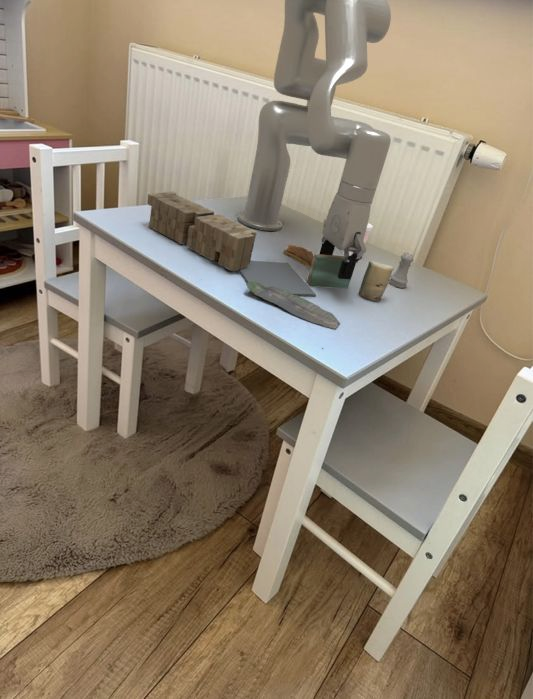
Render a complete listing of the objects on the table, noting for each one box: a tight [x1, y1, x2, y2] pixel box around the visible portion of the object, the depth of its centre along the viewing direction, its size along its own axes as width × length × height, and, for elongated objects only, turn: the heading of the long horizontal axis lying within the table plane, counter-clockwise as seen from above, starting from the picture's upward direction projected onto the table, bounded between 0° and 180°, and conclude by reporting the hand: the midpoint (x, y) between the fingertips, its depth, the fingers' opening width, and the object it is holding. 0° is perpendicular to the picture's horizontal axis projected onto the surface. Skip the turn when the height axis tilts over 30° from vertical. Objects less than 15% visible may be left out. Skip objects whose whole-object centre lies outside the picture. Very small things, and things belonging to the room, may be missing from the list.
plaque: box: [305, 253, 352, 289], centre depth 115 cm, size 2×10×7 cm, turn 111°
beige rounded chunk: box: [358, 260, 394, 302], centre depth 115 cm, size 6×5×8 cm
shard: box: [282, 244, 314, 269], centre depth 127 cm, size 11×8×2 cm
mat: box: [237, 260, 317, 298], centre depth 113 cm, size 16×14×1 cm
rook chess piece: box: [389, 252, 414, 289], centre depth 125 cm, size 4×4×8 cm
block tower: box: [146, 191, 257, 272], centre depth 117 cm, size 8×8×29 cm
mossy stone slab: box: [245, 281, 341, 330], centre depth 103 cm, size 20×8×1 cm, turn 64°
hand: (333, 269), depth 114 cm, fingers open, 9 cm apart
